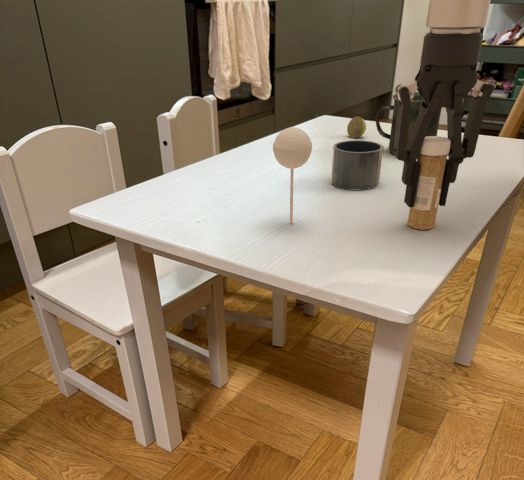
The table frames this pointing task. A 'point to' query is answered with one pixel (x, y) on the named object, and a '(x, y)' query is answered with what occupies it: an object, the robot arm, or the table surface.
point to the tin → (356, 164)
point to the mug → (413, 117)
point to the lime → (356, 127)
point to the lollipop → (292, 153)
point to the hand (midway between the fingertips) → (424, 203)
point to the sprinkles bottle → (429, 182)
